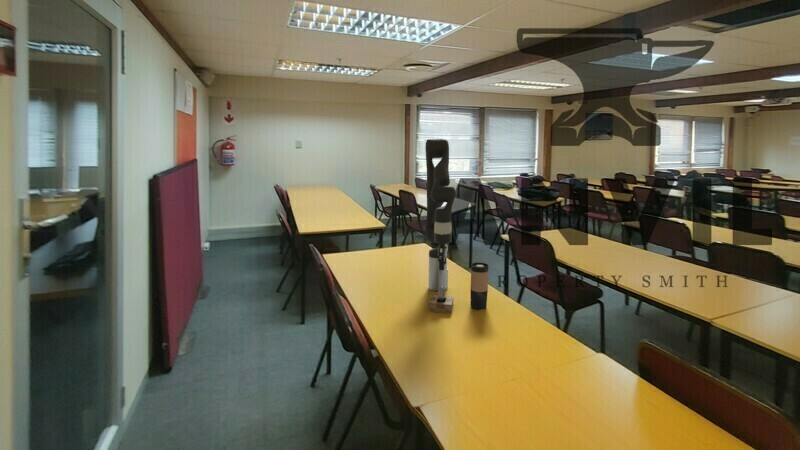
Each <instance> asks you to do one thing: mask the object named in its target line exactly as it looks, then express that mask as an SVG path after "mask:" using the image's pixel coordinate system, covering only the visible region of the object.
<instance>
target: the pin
mask: <svg viewBox="0 0 800 450" xmlns="http://www.w3.org/2000/svg"><path fill="white" fill-rule="evenodd" d="M437 292H438V294H437V295H438V302H445V296H446V291H445V287H444V286H439V288H438V291H437Z"/></svg>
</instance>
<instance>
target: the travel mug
mask: <svg viewBox="0 0 800 450" xmlns="http://www.w3.org/2000/svg"><path fill="white" fill-rule="evenodd" d="M470 266H471V267H470V308H471V309H472V310H476V311H481V310H482V311H484V310H486V309H487V305H488V292H489V291H488V290H489V287H488V286H489V264H487V263H485V262H473V263H471V265H470Z"/></svg>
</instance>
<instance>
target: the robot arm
mask: <svg viewBox="0 0 800 450" xmlns="http://www.w3.org/2000/svg"><path fill="white" fill-rule="evenodd" d="M424 149H425V163H426V165H425V166H426V220H425V221H426V223H425V239H426V241H427V242H429V243H435V244H437V247H435V248H432V249H429V250H428V290H430V291H433V292H438V288H439V286H444V287H445V290H447V289H448V288H449V287H448V286H449V283H448V282H449V270H448V252H449V244H450V243H452V237H453V236H452V235H453V234H452V230H453V227H452V225H453V224H452V210H453V205H454V203H455V199H456V195H457V192H456V188H455V187H454V186H452V185H450V184H451V182H450V172H449V170H450V169H449V168H450V167H449V165H450V143H449V140H448V139H446V138H428V139H426V141H425V148H424ZM433 159H440V160H439V162H438V163H436V165H435V163H434V161H433ZM444 203H446V204H445V205H444ZM443 205H444V206H443Z"/></svg>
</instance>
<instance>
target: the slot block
mask: <svg viewBox="0 0 800 450" xmlns="http://www.w3.org/2000/svg"><path fill="white" fill-rule="evenodd" d="M454 297H455V296H450V295H445V302H438V294H431V296H430V299H429V302H428V312H430V313H443V314H452V312H453V309H454V302H455V300H454V299H455V298H454Z"/></svg>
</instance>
